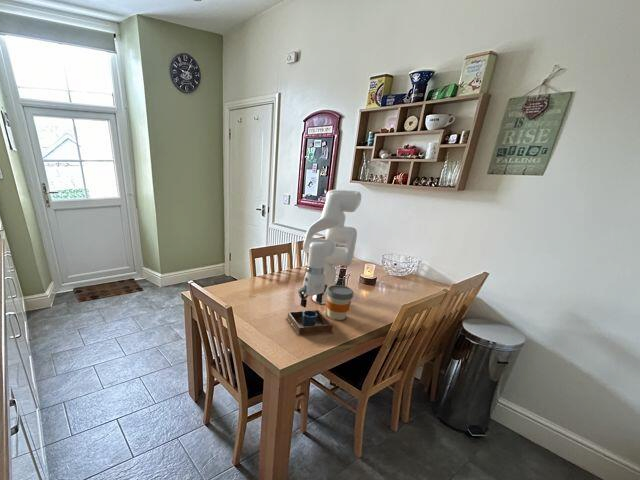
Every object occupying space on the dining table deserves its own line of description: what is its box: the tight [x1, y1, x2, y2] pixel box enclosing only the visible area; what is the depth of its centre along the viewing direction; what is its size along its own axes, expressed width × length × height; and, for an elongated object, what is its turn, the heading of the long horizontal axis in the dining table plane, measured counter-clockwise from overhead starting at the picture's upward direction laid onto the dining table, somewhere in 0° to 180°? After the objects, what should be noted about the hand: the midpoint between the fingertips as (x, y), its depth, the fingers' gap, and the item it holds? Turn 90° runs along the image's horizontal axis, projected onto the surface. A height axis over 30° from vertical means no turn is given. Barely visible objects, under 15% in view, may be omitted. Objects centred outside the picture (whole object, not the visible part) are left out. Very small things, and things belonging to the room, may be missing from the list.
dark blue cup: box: [302, 309, 318, 327], centre depth 158 cm, size 7×7×6 cm
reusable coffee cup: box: [326, 284, 354, 321], centre depth 166 cm, size 13×13×15 cm
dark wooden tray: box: [287, 309, 333, 335], centre depth 159 cm, size 16×16×4 cm
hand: (311, 304), depth 154 cm, fingers open, 9 cm apart
